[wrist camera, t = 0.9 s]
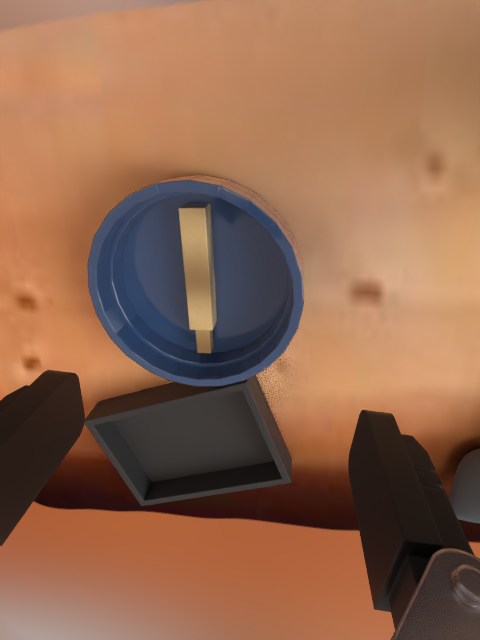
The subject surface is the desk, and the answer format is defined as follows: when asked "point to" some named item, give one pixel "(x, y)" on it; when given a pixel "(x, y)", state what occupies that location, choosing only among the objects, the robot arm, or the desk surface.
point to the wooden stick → (199, 272)
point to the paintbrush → (467, 488)
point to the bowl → (170, 289)
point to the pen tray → (192, 440)
